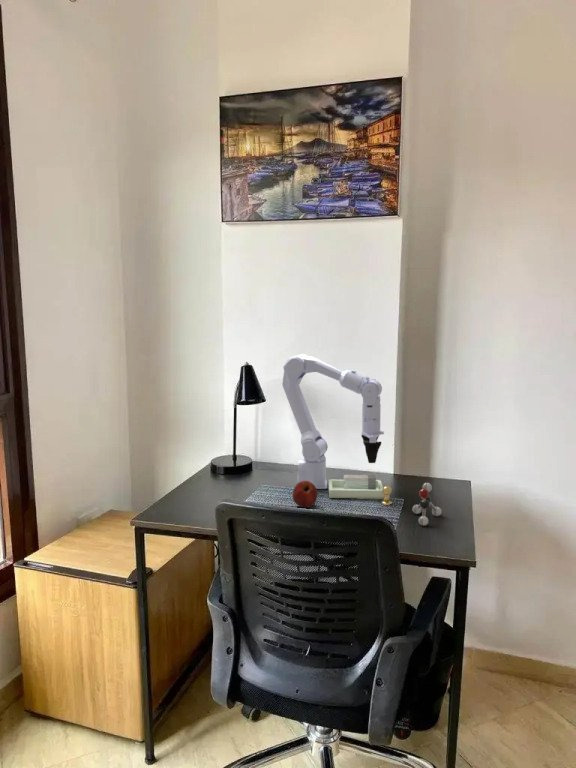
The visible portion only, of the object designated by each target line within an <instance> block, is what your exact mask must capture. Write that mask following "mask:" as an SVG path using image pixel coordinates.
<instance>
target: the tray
mask: <svg viewBox="0 0 576 768" xmlns="http://www.w3.org/2000/svg"><path fill="white" fill-rule="evenodd" d="M383 487H384V485H383V483H382V481H381V479H376V490H366V489H344V479H328V486H327V489H328V497H329V498H359V499H358V500H384V494H383V492H382V489H383Z"/></svg>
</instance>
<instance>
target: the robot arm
mask: <svg viewBox="0 0 576 768" xmlns="http://www.w3.org/2000/svg"><path fill="white" fill-rule="evenodd" d="M282 367H283V375H282V383H281V384H282V388H283V390H284V393H285V395H286V398H287V401H288V404H289V407H290V409H291V411H292V414H293V417H294V419H295V422H296V424H297V428H298V430H299V432H300V436H301V437H300V444H301V447H302V448H301V449H302V450H301V454H302V456H303V458H302V459H298V461H297V465H298V466H297V468H298V469H297V478H296V480H297V484H298V483H299V482H301V481H309V482H311V483H312V484H314V486H315V487H316V489H317V490H318V489H319V490H326V489H328V481H327V478H326V477H327V475H326V474H327V473H326V471H327V465H326V464H327V458H326V452H327V451H328V443H327V441H326V439H325V438H324V437H323V436H322V434H321V432H320V431H319V430H318V429H317V427H316V425H315V423H314V421H313V418H312V415H311V412H310V410H309V407H308V404H307V401H306V400H305V396H304V394H303V391H302V389H301V386H300V384H301V382H302V380H303V378H304V377H305V375H307V374H310V373H317V374H318V373H319V374H321V375H323V376H325V377H326V376H327V377H328V378H331V379H332V380H333V379H334V380H336V381H338V382H339V384H340V386H341V387H342V388H345V389H347V390H349V391H352V392H354V393H356V394H357V395H361V397H362V406H361V407H362V409H361V411H362V413H361V414H362V416H361V418H362V419H361V428H362V429H361V438H362V442H363V445H364V448H365V449H364V450H365V454H366V457H367V462H368V464H376V461H377V457H378V453H379V449H380V448H381V446H382V441H378V439H379V437H380V436H381V435H384V434H385V431H383V430H381V409H382V408H381V394H382V391H383V386H382V385H381V383H380V382H379V381H378V380H377V379H374V378H371V379H370V376H366V377H365V376H363V375H362V374H358V373H357V371H356V370H355V369H351V370H350V369H348V370H347V369H346V370H344V371H343V370H341V369H338V368H337V367H334V366H333V365H330V364H328V363H326V362H324V361H323V360H320V359H318V358H316V357H314V356H309V355H307V354H305V353H300V354H298V355H294V356H290V357H289V358H287V360H286V362H285V363H284V365H283V366H282Z"/></svg>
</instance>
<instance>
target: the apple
mask: <svg viewBox="0 0 576 768" xmlns="http://www.w3.org/2000/svg"><path fill="white" fill-rule="evenodd" d="M317 499H318V489H316V487H315V486H314V484H312V483H311V482H309V481H301V482H299V483H298V482H297V484H296V485H295V486H294V489H293V491H292V500H293V502H294V503H295V504H296V505H297V506H299V507H301V508H310V507H312V506H313V505H314V504H315V503H316V501H317Z"/></svg>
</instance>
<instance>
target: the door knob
mask: <svg viewBox="0 0 576 768" xmlns="http://www.w3.org/2000/svg"><path fill="white" fill-rule="evenodd" d="M382 492H383V494H384V499H383V500H382V501H381V505H382V504H384V505H383V506H386V505H389V506H391V505H392V501H391V500H390V495H391V494H392V488H391V486H390V485H385V486H384V485H383V489H382ZM390 504H391V505H390Z"/></svg>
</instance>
